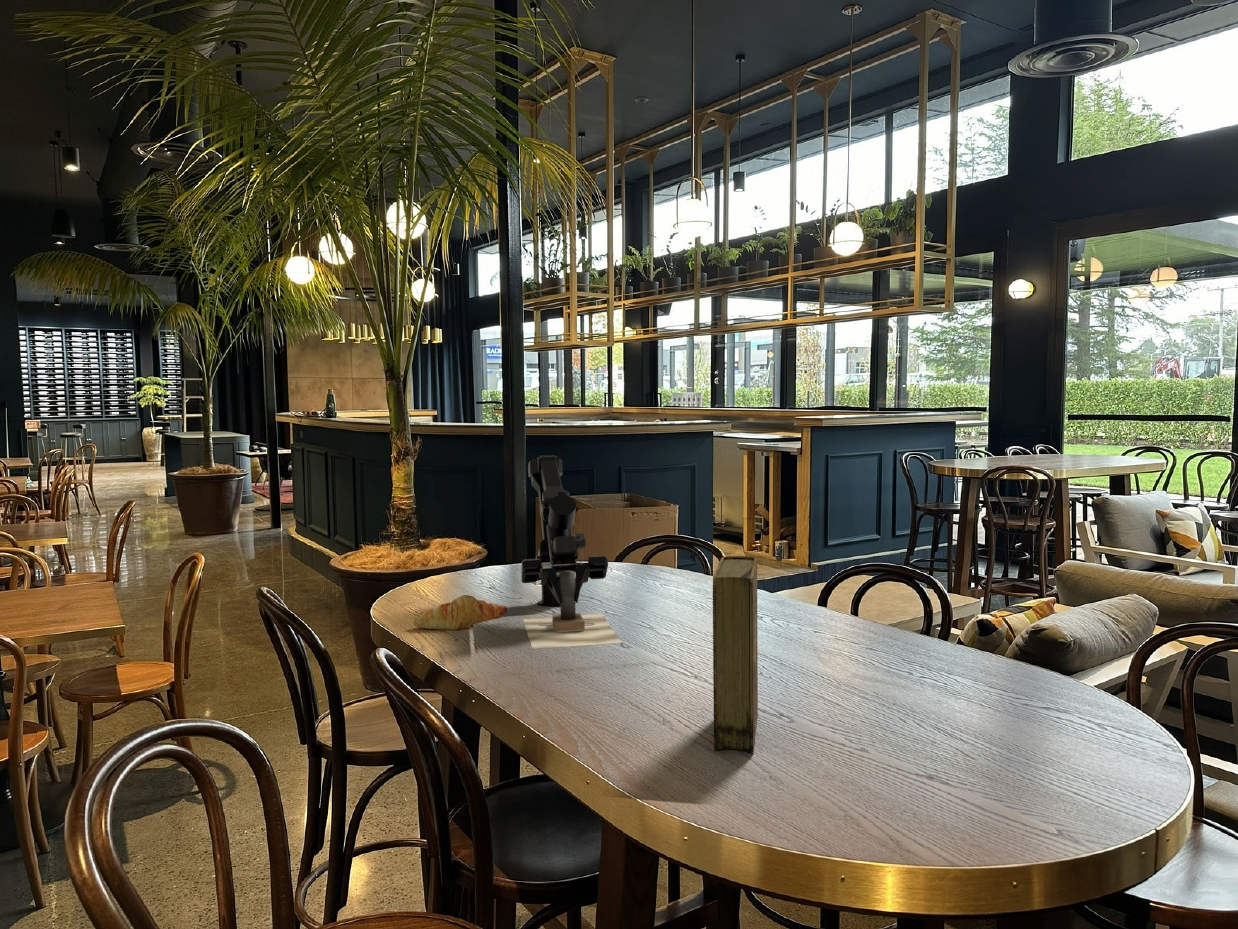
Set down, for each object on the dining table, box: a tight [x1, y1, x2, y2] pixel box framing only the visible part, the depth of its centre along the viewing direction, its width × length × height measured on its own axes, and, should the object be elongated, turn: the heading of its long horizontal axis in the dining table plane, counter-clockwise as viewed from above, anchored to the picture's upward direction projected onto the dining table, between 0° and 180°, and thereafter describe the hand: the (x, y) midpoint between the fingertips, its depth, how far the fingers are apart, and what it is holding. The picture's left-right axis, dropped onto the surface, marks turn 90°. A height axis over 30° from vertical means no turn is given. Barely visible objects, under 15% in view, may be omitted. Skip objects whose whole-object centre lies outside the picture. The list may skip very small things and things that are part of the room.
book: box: [712, 555, 759, 754], centre depth 124 cm, size 16×6×25 cm, turn 168°
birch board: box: [522, 613, 623, 650], centre depth 179 cm, size 24×18×1 cm
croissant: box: [412, 594, 508, 631], centre depth 188 cm, size 21×10×8 cm, turn 114°
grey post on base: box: [551, 571, 585, 632], centre depth 180 cm, size 7×6×12 cm
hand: (568, 602), depth 179 cm, fingers closed on grey post on base, 3 cm apart
